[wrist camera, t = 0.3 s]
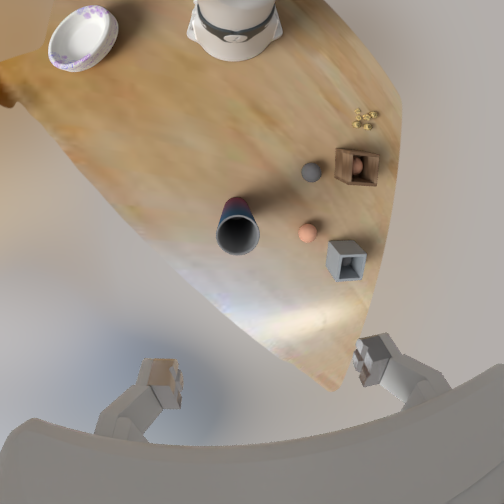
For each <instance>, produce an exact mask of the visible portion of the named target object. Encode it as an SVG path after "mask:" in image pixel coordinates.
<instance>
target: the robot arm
mask: <svg viewBox="0 0 504 504" xmlns="http://www.w3.org/2000/svg"><path fill="white" fill-rule="evenodd" d="M275 1H276V0H194V4H195V7H194V9H193V11H192V17H191V20H190V23H189V27H188V30H187V37H188V38H189V39H191V40H193V41H195V42H197V43H199V44H200V45H201V46H202V47H203V49H204V50H205V51H206V52H207V53H209V54H210V55H212V56H213V57H215V58H218V59H221V60H225V61H243V60H247V59H250V58H253V57H255V56H256V55H258V54H260V53H261V52H262V51H263V50H264V49H265V48H266V47H267V45H268V44H269V43H270V42H272V41H274V40H276V39H278V38H280V37H281V36H282V33H283V30H282V27H281V23H280V20H279V16H278V13H277V9H276V6H275ZM192 29H193V30H192ZM356 347H357V349H356V350H355V351H354V353H353V364H354V367H355V369H356V371H358V372H360V375H359V378H360V380H361V383H362V385H363V387H367V386H371V385H375V384H379V383H380V385H381V386H382V387H384V388H385V389H386V390H388V391H389V392H390V393H392V394H393V395H394V396H396V397H397V398H399V399H400V400H401V401H403V402H404V403H405V405H404V407H403V408H402V410H401V411H400V412H398V413H395V414H393V415H390V416H387V417H384V418H381V419H378V420H374V421H371V422H368V423H365V424H361V425H357V426H354V427H350V428H346V429H342V430H338V431H334V432H329V433H325V434H320V435H315V436H310V437H305V438H299V439H292V440H285V441H278V442H270V443H260V444H248V445H234V446H233V445H232V446H180V445H164V444H153V443H149V442H148V441H147V439H146V438H145V437H144V436H143V434H144V433H145V431H146V430H147V429H148V427H149V426H150V425H151V424H152V423H153V422H154V420H155V419H156V418H157V416H158V415H159V414H160V413H161V412H162V410H163V409H180V408H181V400H182V397H181V394H180V392H181V391H182V390H183V376H182V372H181V370H179V369H178V362H177V359H156V358H155V359H151V358H149V359H148V358H144V360H143V361H142V364H141V368H140V371H139V374H138V378H137V381H136V385H132V386H131V387H130V388H129V389H127V390H126V391H125V392H124V393H123V394H122V395H121V396H119V397H118V398H117V399H116V400H115V401H114V402H112V403H111V404H110V405H109V406H108V407H107V408H106V409H104V410H103V411H102V412H101V413H100V415H99V419H98V422H97V425H96V429H95V432H94V434H90V433H86V432H82V431H78V430H74V429H70V428H66V427H63V426H59V425H56V424H53V423H49V422H47V421H44V420H41V419H38V418H32V419H29V420H27V421H26V422H24V423H23V424H21V425H20V426H18V427H17V428H15V429H14V430H13V431H12V432H11V433H10V434H9V436H8V437H7V439H6V441H5V443H4V445H3V447H2V450H1V452H0V504H504V364H496V365H494V366H493V367H491V368H489V369H488V370H486V371H485V372H483V373H481V374H479V375H478V376H476V377H474V378H473V379H471V380H469V381H467V382H465V383H463V384H462V385H460V386H458V387H456V388H454V389H452V388H451V387H450V385H449V384H448V382H447V381H446V379H445V378H444V376H443V375H442V373H441V372H439V371H437V370H435V369H433V368H431V367H429V366H427V365H425V364H423V363H421V362H419V361H417V360H415V359H413V358H411V357H409V356H407V355H405V354H403V355H402V354H401V352H400V351H399V349H398V348H397V346H396V345H395V343H394V342H393V340H392V339H391V337H390V336H389V334H388V333H382V334H378V335H374V336H369V337H365V338H360V339H358V340H357V341H356Z"/></svg>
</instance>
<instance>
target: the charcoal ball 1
mask: <svg viewBox="0 0 504 504" xmlns="http://www.w3.org/2000/svg"><path fill="white" fill-rule="evenodd" d="M302 177H303V178H304V179H305V180H306V181H308V182H316V181H318V180H319V179H320V177H321V169H320V167H319V166H318V165H317V164H315V163H307V164H305V165H304V166H303V168H302Z"/></svg>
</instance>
